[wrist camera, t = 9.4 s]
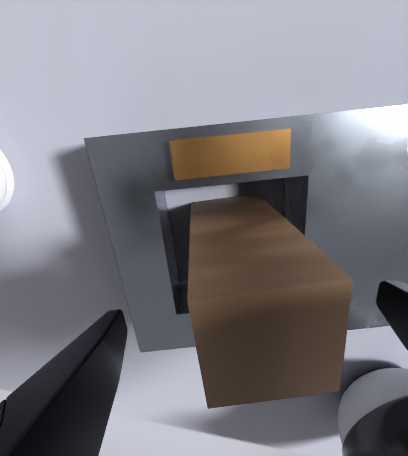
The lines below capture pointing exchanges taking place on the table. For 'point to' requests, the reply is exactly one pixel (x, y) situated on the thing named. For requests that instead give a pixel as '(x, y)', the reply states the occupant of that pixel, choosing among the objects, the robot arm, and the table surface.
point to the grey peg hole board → (254, 171)
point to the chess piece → (5, 182)
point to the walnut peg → (263, 305)
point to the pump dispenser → (375, 414)
